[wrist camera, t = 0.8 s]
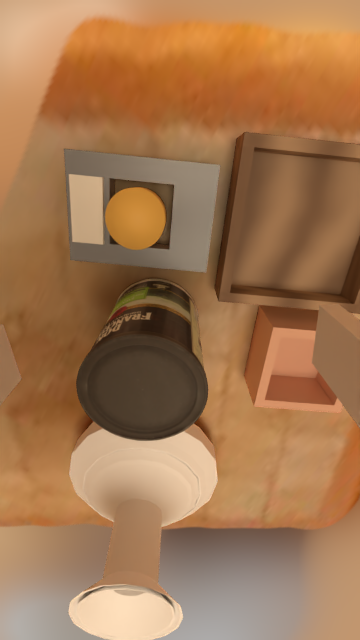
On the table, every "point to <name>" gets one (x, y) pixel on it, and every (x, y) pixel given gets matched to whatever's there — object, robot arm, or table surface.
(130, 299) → the coffee can
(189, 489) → the candle holder
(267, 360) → the terracotta square planter
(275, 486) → the table surface
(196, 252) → the base
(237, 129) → the table surface
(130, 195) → the button
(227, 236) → the dark wooden tray
